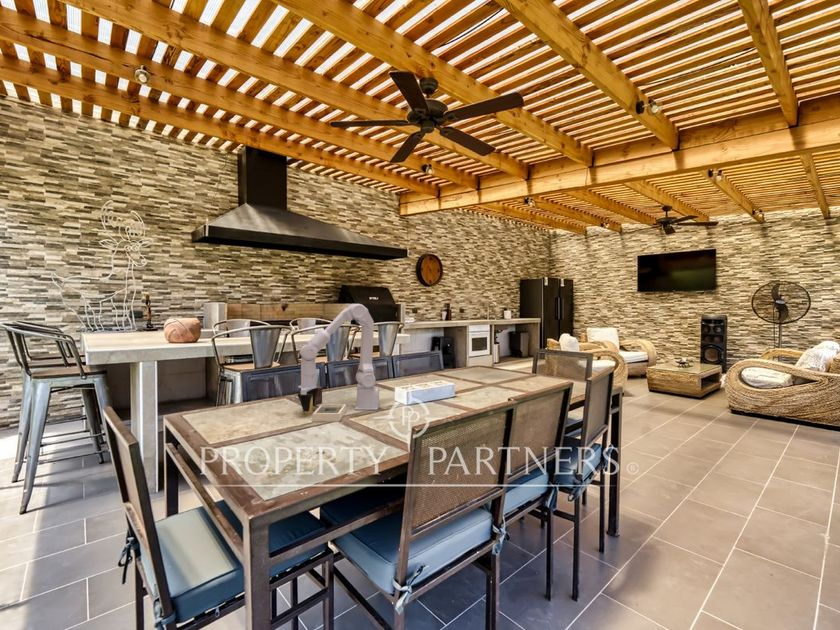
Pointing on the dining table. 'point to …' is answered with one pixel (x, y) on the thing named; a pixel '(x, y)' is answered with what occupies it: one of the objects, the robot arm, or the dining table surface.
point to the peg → (310, 407)
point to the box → (318, 396)
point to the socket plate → (329, 410)
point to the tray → (329, 414)
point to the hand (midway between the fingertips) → (308, 408)
